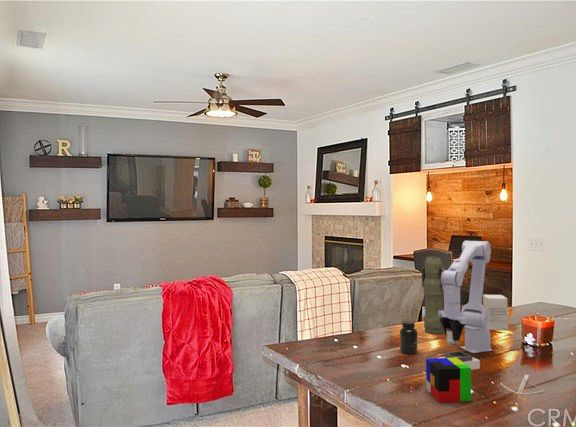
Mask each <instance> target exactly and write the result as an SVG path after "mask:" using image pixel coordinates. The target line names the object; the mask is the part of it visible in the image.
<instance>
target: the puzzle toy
mask: <svg viewBox="0 0 576 427" xmlns="http://www.w3.org/2000/svg"><path fill="white" fill-rule="evenodd" d="M425 371H426V372H425V374H426V379H425V380H426V381H425V382H426V391H427V390H428V391H429V392H430V393H431V396H432V397H433V398H434V399H435V400H436V401H437V402H438V403H453V402H466V401H467V402H472V370H471V368H470V367H469V366H467V365H466V364H465V363H463V362H462V361H461V360H459V359H458V358H456V357H454V358H438V357H437V358H435V357H434V358H426V359H425ZM428 391H427V392H428ZM429 392H428V393H429ZM430 393H429V394H430Z"/></svg>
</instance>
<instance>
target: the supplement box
mask: <svg viewBox="0 0 576 427" xmlns="http://www.w3.org/2000/svg"><path fill="white" fill-rule="evenodd" d="M508 300H509V299H508V298H507V297H506V296H505V295H502V294H482V305H483V306H484V307H485V308H486V309H487V310H488V318H489V322H488V326H487V327H486V328H488V329H489V331H494V330H495V331H508V330H509V323H508V322H509V321H508V320H509V319H508V315H509V314H508V311H509V310H508V308H509V306H508V303H509V302H508Z"/></svg>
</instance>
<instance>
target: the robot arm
mask: <svg viewBox="0 0 576 427" xmlns="http://www.w3.org/2000/svg"><path fill="white" fill-rule="evenodd" d="M491 254H492V247H491V243H490V242H489V240H488V241H487V240H485V241H484V240H483V241H481V240H468V239H467V240H464V241H463V242H462V245H461V254H460V255H459V258H456V259H454V260H453V262H452V263H451V265H450V266H449V268H448V269H447V270H446V269H445V271H443V272H442V275H441V283H442V289H443V290H444V295H443V310H441V311H439V316H442V317H443V318H440V322H441V324H442V326H443V329H444V335H445V338H446V339H447V330H446V327H451V328H452V333H453V340H454V341H458V342H459V341H460V339H461V335H462V332H463V331H464V345H462V346H460V349H463V350H464V351H467V352H469V353H472V354H476V353H477V354H478V353H485V352H491V351H493V349H492V347H491V346H492V345H491V343H492V342H491V341H492V340H491V338H492V337H491V330H489V329H488V328H486V327H487V326H488V322H489V318H488V310H487V309H486V308H485V307H484V306H483V295H484V284H485V283H484V282H485V274H486V266H487V265H486V264H488V263H490V262H491V261H490V259H491ZM469 263H471V264H472V268H471V277H470V278H471V279H470V286H469V296H468V302H467V303H466V304H464V305H462V308H461V286H462V285H463V282H464V277H465V274H466V272H467V270H469ZM463 329H464V330H463Z"/></svg>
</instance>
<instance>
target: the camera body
mask: <svg viewBox="0 0 576 427" xmlns="http://www.w3.org/2000/svg"><path fill="white" fill-rule="evenodd" d="M454 357H456V358H458V359H459V360H461V361H462V362H463V363H465V364H466V365H467V366H469V367H470V368H471V371H474V370H479V369H481V362H480V361H481V360H480V359H478V358H475V357H474V356H472V355H469V354H468V353H465V352H463V351H461V350H459V351H451V352H444V356H440V357H437V358H454Z"/></svg>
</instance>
